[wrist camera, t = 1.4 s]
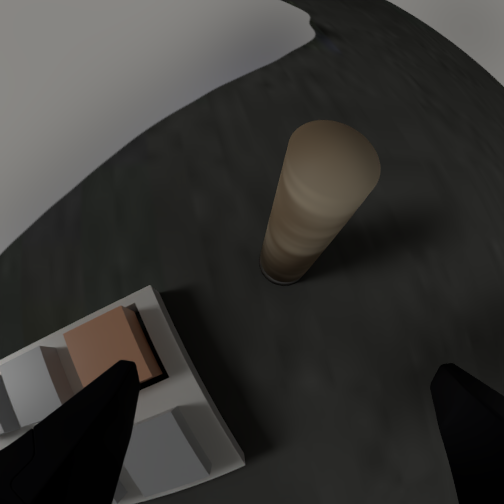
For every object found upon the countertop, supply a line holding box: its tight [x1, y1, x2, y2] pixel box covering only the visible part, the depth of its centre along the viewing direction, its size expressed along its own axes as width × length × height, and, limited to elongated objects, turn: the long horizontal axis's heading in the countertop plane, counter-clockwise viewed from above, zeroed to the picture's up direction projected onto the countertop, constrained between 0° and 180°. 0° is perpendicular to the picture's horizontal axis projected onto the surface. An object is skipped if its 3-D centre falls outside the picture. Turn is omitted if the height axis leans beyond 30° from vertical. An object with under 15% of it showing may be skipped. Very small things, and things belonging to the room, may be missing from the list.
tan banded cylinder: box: [259, 120, 381, 286], centre depth 17 cm, size 4×4×13 cm
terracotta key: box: [63, 306, 163, 387], centre depth 17 cm, size 4×4×3 cm
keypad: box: [0, 285, 245, 504], centre depth 16 cm, size 13×21×5 cm, turn 118°
